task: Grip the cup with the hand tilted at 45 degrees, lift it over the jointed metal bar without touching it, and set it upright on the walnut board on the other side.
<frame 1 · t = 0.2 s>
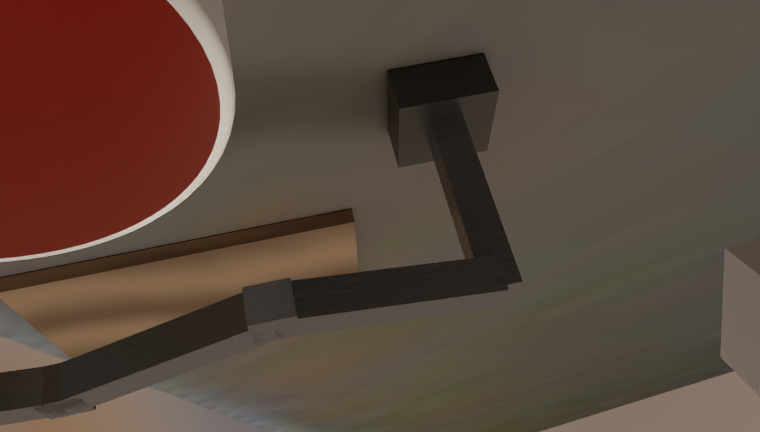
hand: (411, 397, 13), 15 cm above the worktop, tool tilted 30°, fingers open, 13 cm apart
jointed metal bar: (150, 146, 29), on the worktop
walnut board: (202, 288, 40), on the worktop
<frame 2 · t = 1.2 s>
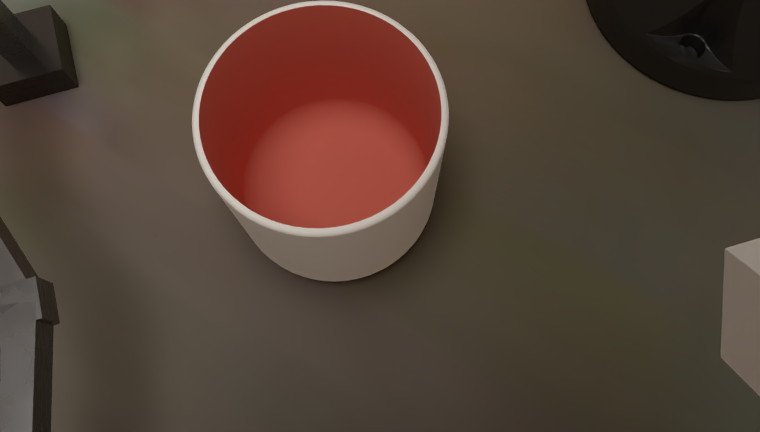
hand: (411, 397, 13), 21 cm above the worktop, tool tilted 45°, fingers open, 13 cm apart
jointed metal bar: (72, 267, 36), on the worktop
cup: (338, 193, 37), on the worktop
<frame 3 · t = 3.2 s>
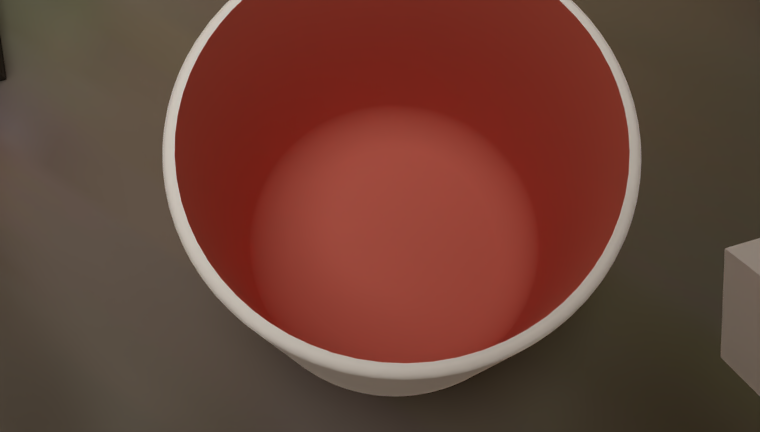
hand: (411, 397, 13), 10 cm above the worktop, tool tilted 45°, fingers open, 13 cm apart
cup: (393, 249, 24), on the worktop
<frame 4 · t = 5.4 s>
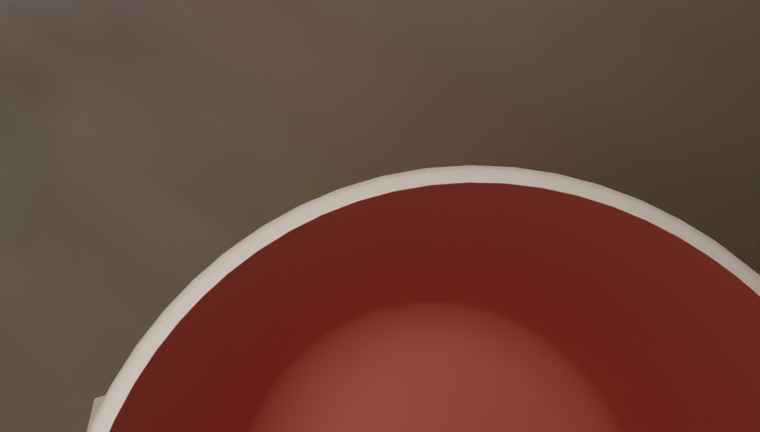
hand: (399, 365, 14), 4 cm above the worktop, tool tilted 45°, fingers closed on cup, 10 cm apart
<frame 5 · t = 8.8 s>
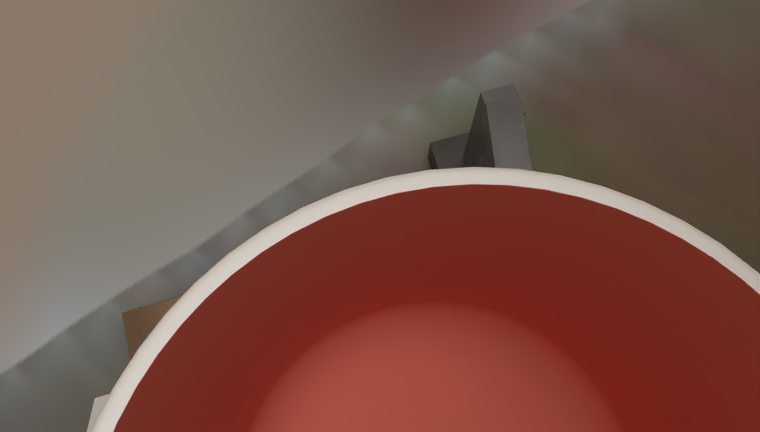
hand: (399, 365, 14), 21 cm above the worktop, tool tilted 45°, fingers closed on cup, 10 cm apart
jointed metal bar: (551, 407, 34), on the worktop
when the fingers open (6 cm above the worktop, at t = 12.4 s): cup drops 1 cm, resting on walnut board.
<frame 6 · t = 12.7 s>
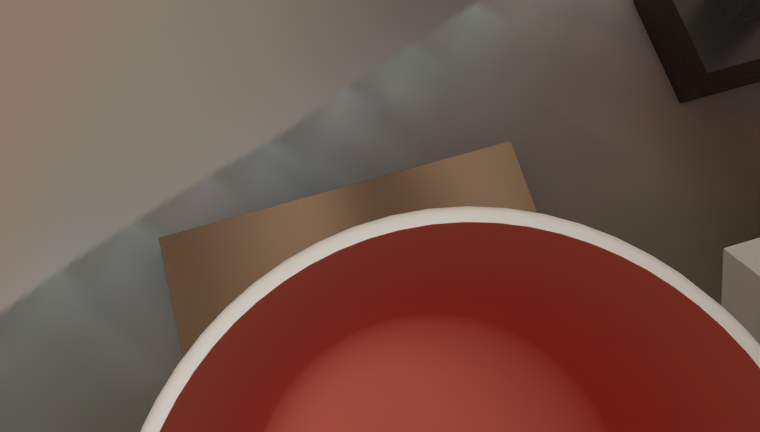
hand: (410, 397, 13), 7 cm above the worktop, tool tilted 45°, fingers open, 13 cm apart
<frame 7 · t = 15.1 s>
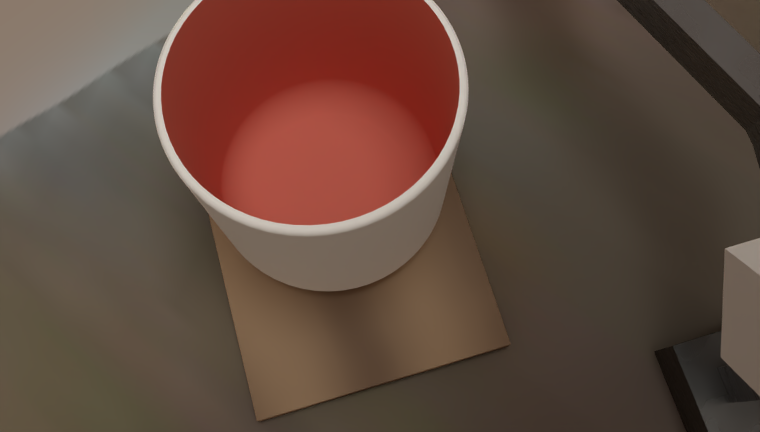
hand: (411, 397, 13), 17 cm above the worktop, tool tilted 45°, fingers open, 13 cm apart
jointed metal bar: (610, 134, 33), on the worktop
walnut board: (330, 191, 33), on the worktop
cup: (332, 189, 32), point 1 cm above the worktop, touching walnut board
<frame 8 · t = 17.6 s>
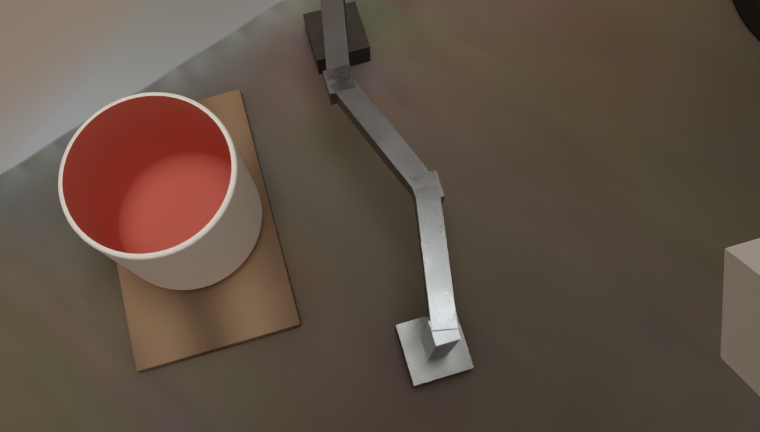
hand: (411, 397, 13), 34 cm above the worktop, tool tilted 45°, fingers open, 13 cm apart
jointed metal bar: (381, 186, 50), on the worktop
walnut board: (194, 225, 50), on the worktop
cup: (193, 223, 49), point 1 cm above the worktop, touching walnut board
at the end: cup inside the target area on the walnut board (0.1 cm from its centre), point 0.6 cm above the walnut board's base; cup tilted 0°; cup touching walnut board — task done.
